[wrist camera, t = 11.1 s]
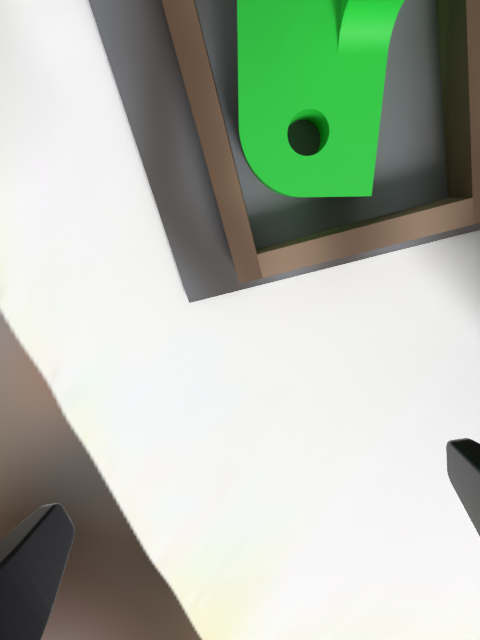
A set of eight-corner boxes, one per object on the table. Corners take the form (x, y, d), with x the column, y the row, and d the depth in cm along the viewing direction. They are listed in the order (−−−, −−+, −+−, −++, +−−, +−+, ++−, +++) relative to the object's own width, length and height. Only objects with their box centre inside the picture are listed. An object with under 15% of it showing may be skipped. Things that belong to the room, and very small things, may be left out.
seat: (547, -395, 11) (630, -564, 9) (532, 213, 17) (578, 215, 15) (39, -163, 13) (-9, -244, 11) (191, 299, 20) (182, 313, 17)
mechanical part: (237, -126, 13) (216, -569, 6) (391, -134, 13) (589, -607, 5) (241, 198, 17) (232, 196, 10) (358, 196, 17) (443, 193, 9)
